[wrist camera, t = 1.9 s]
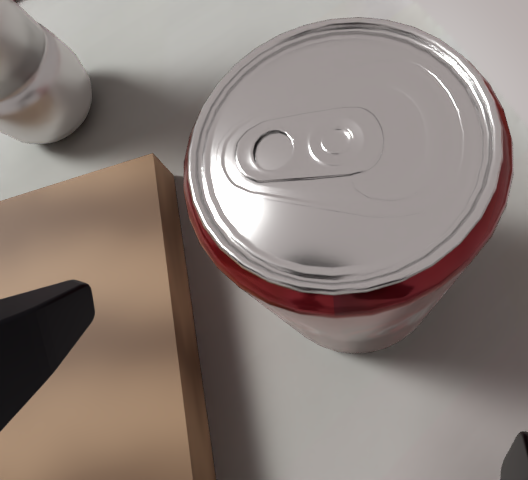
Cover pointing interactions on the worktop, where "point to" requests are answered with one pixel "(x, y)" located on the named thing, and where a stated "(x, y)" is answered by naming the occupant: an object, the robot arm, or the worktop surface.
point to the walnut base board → (109, 332)
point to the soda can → (348, 177)
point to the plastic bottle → (38, 80)
